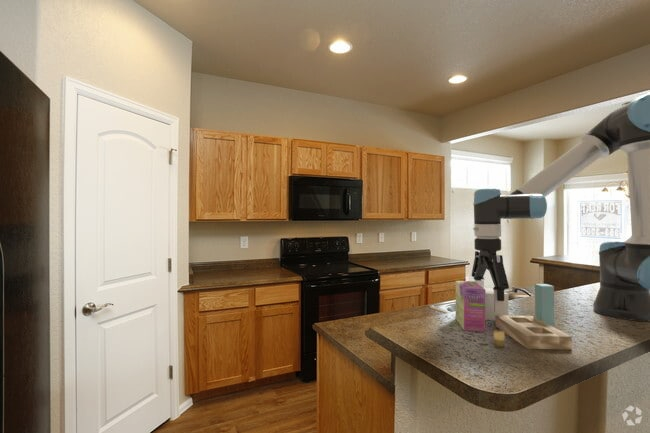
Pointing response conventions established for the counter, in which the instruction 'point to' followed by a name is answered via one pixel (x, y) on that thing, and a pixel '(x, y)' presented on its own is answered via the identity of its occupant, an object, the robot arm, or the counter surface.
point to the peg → (544, 303)
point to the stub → (499, 339)
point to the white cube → (490, 304)
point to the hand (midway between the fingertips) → (488, 305)
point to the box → (470, 306)
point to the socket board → (533, 332)
